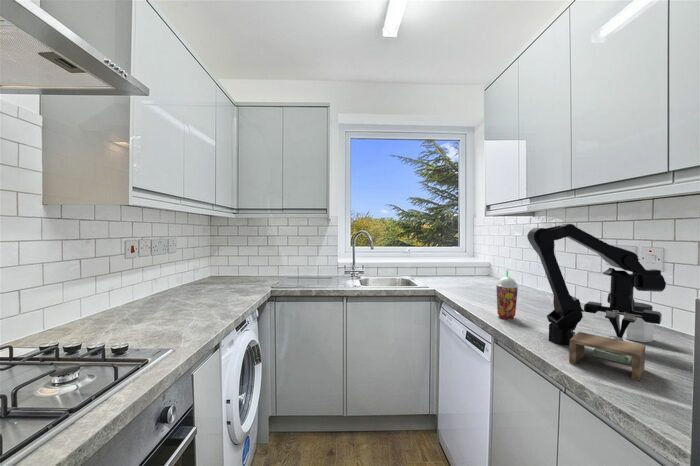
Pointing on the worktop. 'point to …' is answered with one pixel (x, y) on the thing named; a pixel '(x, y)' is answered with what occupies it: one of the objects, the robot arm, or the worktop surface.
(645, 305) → the jar
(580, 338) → the shelf
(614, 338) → the grey rounded cylinder
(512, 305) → the smoothie
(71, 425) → the worktop surface
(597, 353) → the tray
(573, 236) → the robot arm
